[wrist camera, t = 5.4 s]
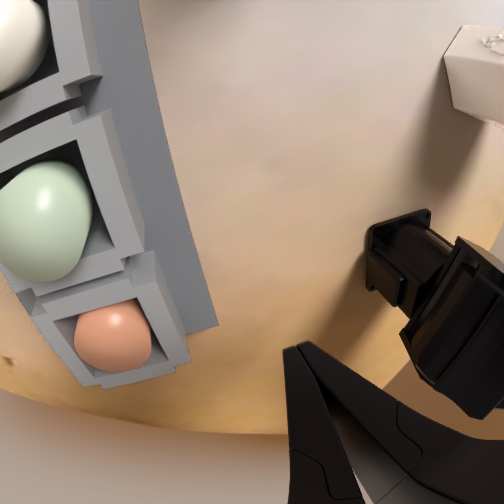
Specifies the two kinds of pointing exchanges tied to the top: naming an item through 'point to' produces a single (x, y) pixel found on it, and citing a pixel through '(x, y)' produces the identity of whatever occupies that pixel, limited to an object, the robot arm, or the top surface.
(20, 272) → the sage button
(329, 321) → the top surface
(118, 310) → the terracotta button
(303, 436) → the robot arm
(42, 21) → the cream button
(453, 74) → the jar
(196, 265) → the button panel
